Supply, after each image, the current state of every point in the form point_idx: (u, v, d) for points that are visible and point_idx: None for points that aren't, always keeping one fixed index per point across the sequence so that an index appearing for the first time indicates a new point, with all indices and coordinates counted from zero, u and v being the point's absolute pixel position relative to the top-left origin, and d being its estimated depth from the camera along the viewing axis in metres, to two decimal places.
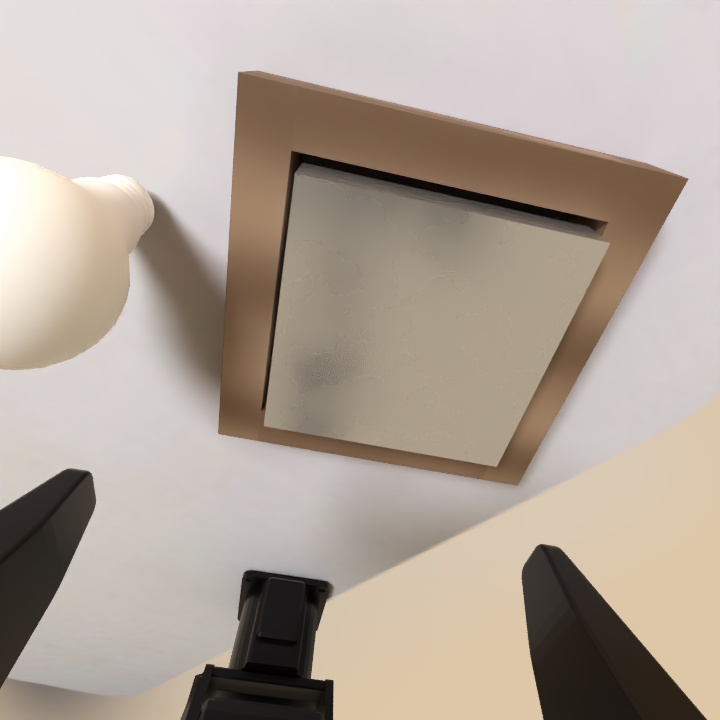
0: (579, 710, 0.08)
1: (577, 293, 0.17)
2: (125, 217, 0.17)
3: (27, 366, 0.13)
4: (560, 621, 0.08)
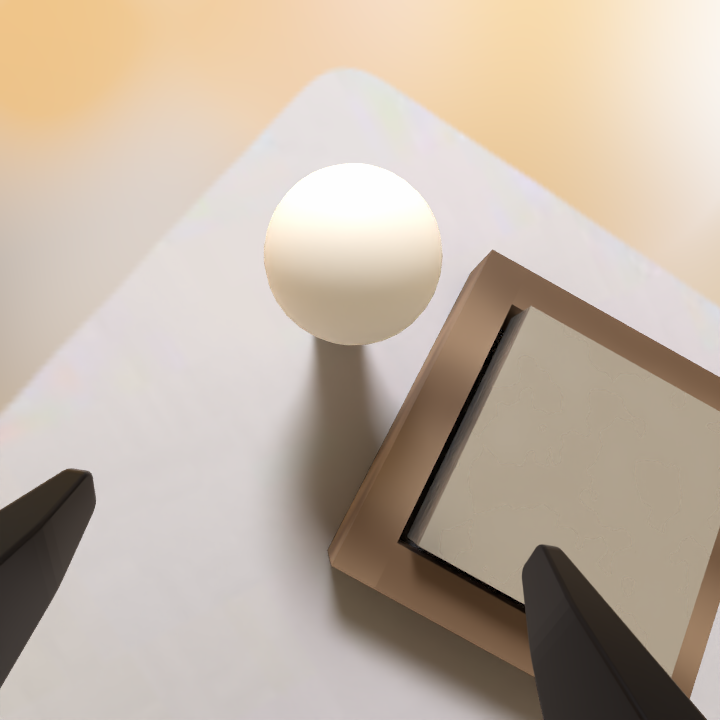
0: (579, 710, 0.08)
1: None
2: None
3: (359, 307, 0.14)
4: (560, 621, 0.08)
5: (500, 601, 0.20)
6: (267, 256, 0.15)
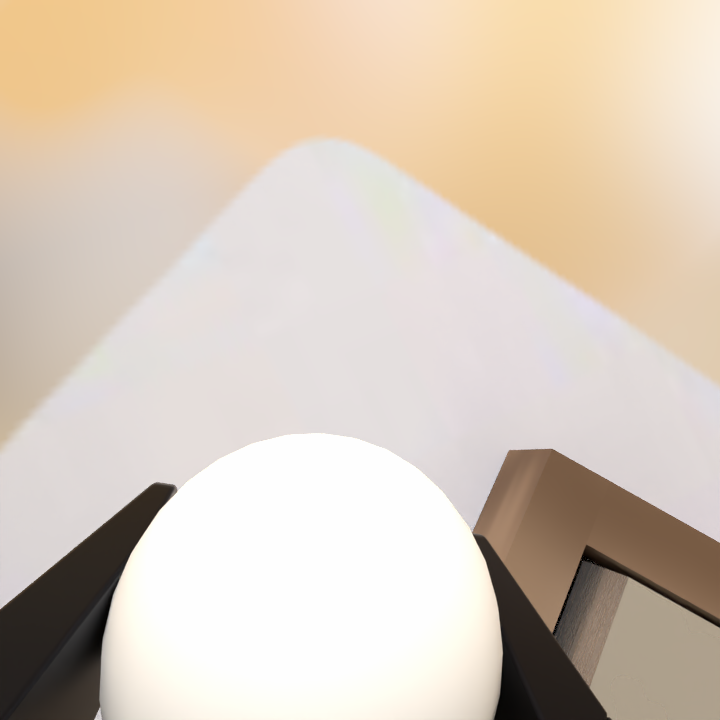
0: None
1: None
2: None
3: None
4: None
5: None
6: None
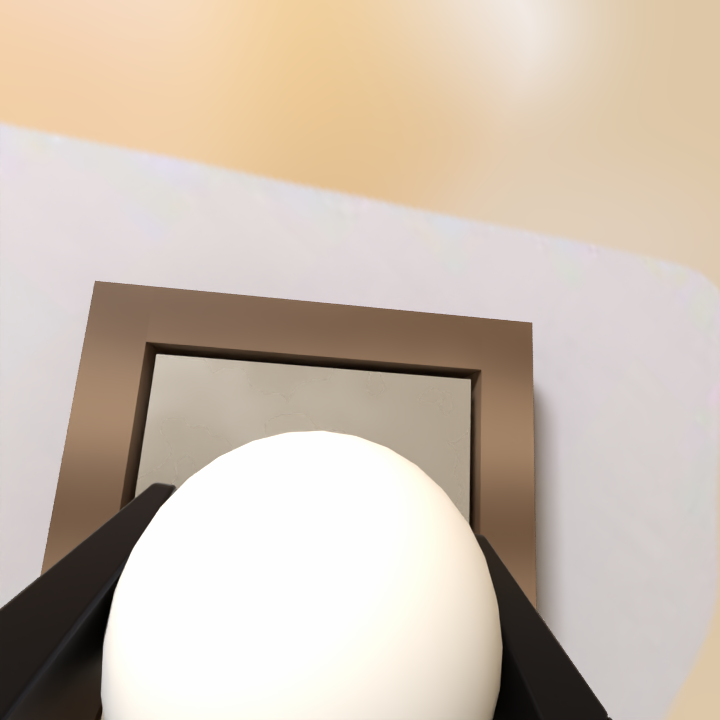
0: None
1: (463, 434, 0.17)
2: None
3: None
4: None
5: None
6: None
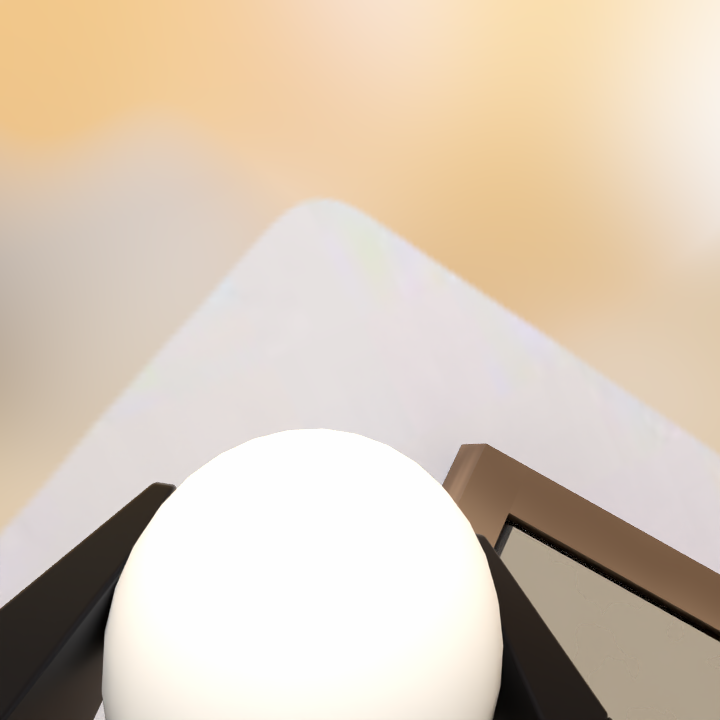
0: None
1: None
2: None
3: None
4: None
5: None
6: None
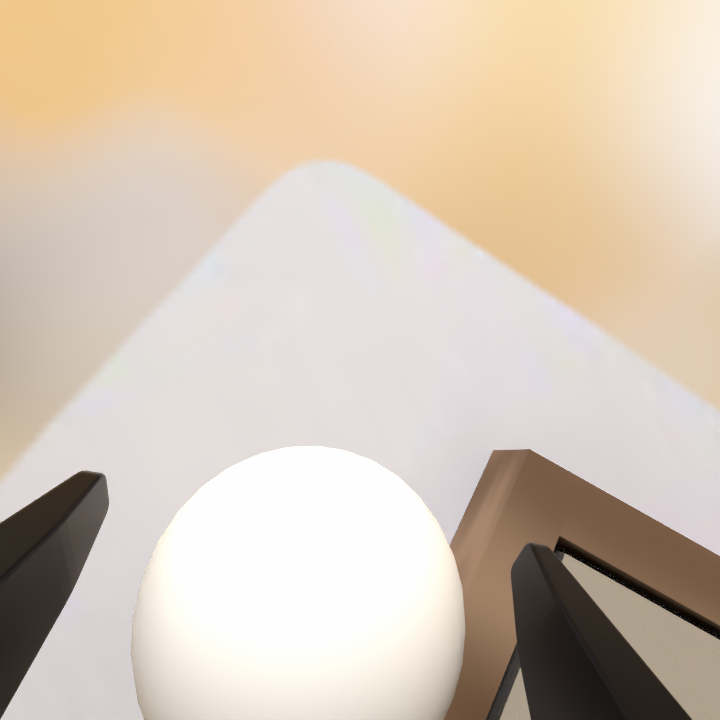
0: (565, 708, 0.08)
1: None
2: None
3: None
4: (547, 619, 0.08)
5: None
6: (132, 656, 0.08)
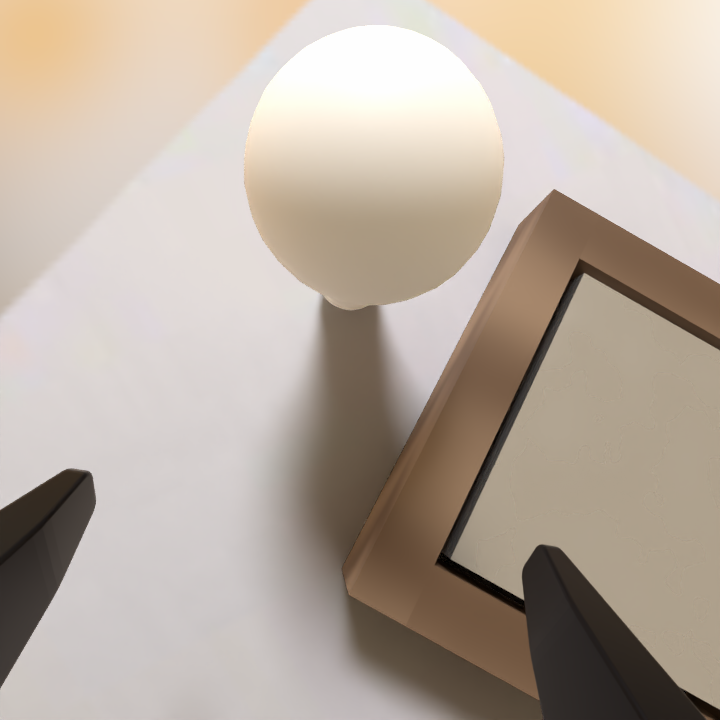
0: (579, 710, 0.08)
1: None
2: None
3: (384, 237, 0.09)
4: (560, 621, 0.08)
5: None
6: (247, 168, 0.10)
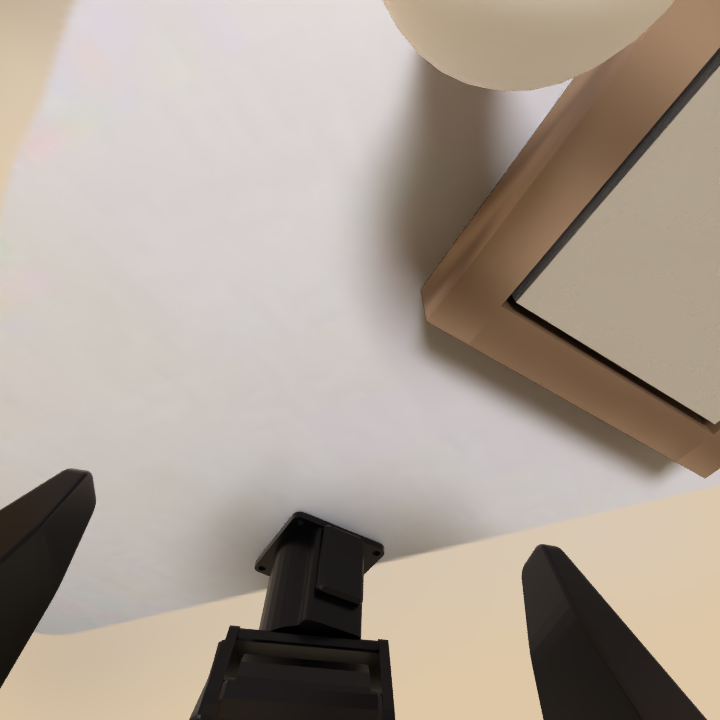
0: (579, 710, 0.08)
1: None
2: None
3: (539, 47, 0.08)
4: (560, 621, 0.08)
5: (596, 364, 0.19)
6: None
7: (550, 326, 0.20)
